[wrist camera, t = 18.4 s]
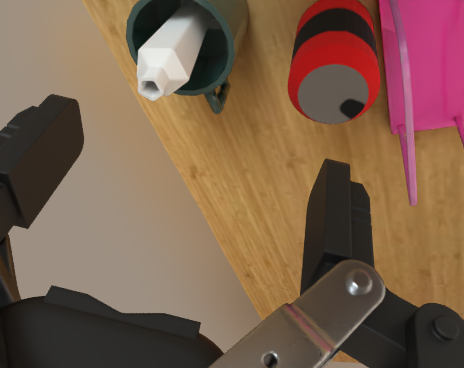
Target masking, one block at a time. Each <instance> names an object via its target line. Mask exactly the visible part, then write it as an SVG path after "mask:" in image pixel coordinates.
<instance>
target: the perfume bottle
mask: <svg viewBox="0 0 464 368" xmlns="http://www.w3.org/2000/svg"><path fill="white" fill-rule="evenodd" d="M215 20H216V18H215V17H214V16H213V14H212V13H211V12H210V11H209V10H207V9H206V8H204V7H203V6H202V5H200V4H199V3H197V2H196V1H193V0H182V6H181V7H180V8H179V9H178V10H177V11H176V12H175V13H174V14H173V15H172V16H171V17H170V18H169V19H168V20H167V21H166V22H165V23H164V24H163V26H162V27H161V28H160V29H159V30H158V31H157V32H156V33H155V34H154V35H153V36H152V37H151V38H150V39H149V40H148V41H147V42H146V43H145V44H144V45H143V46H142V47H141V48H140V49H139V50H138V64H137V79H138V93H139V94H141V95H142V96H144V97H146V98H147V99H149V100H151V101H155V100H157V99H158V98H159V97H161V96H162V95H164V96H169V95H171V94H172V93H173V92H174V91H176V90H177V89H178V88H180V87H181V86H182V85H184V84H185V83H186V82H188V81H189V78H190V75H191V72H192V70H193V67H194V64H195V61H196V59H197V56H198V53H199V50H200V47H201V45H202V42H203V39H204V36H205V34H206V31H207V28H208V26H209V25H210V24H211V23H212V22H213V21H215Z"/></svg>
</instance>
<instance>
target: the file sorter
mask: <svg viewBox="0 0 464 368" xmlns="http://www.w3.org/2000/svg"><path fill="white" fill-rule="evenodd" d="M378 3H379V13H380V24H381V34H382V45H383V56H384V66H385V77H386V88H387V99H388V110H389V121H390V128H391V132H392V134H399V137H400V143H401V149H402V155H403V162H404V168H405V175H406V182H407V189H408V196H409V202H410V206H416V205H417V185H416V164H415V144H414V132H415V131H422V130H429V129H436V128H443V127H450V126H457V128H458V132H459V135H460V138H461V140H462V144H463V147H464V126H463V125H464V0H378ZM405 133H406V138H405ZM406 142H407V143H406Z"/></svg>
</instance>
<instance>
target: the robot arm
mask: <svg viewBox="0 0 464 368" xmlns="http://www.w3.org/2000/svg"><path fill="white" fill-rule="evenodd" d="M83 144H84V134H83V128H82V122H81V115H80V109H79V105H78V102H77V100H75V99H71V98H67V97H63V96H59V95H54V94H51V95H49V96H48V97H47V98H46V99H45V100H44V101H43V102H42V104H40V105H39V107H35V106H32V107H30V108H28V109H26V110H24V111H22V112H20V113H18V114H17V115H16V116H15V117H14V118H13V119H12V120H11V121H10V122H9V123H8V124H7V127H4V128H3V129H2V130H1V131H0V368H324V367H325V366H326V365H327V364H328V363H329V362H330V361H331V360H332V359H333V358H334V357H335V355H336V354H337V353H338V352H339V351H340V350H341V351H343V352H344V353H346V354H348V355H349V356H351V357H352V358H354V359H356V360H357V361H359V362H361V363H362V364H364V365H366V366H367V367H369V368H464V320H463V319H462V318H461V317H460V316H459V315H458V314H457V313H456V312H455V311H453V310H452V309H450V308H448V307H446V306H444V305H441V304H437V303H427V304H424V305H422V306H421V307H420V308H418V307H416V306H415V305H413V304H411V303H409V302H407V301H405V300H404V299H402V298H400V297H398V296H397V295H395V294H393V293H392V292H391V291H389V290H388V289H387V288H386V287H385V285H384V282H383V279H382V278H381V276H380V275H379V273H378V272H377V271H376V270H375V267H374V256H373V241H372V226H371V214H370V197H369V196H368V194H367V192H366V190H365V188H364V186H363V185H362V184H360V183H356V182H352V181H350V165H349V164H347V163H343V162H339V161H335V160H330V159H325V160H324V162H323V164H322V167H321V169H320V171H319V174H318V176H317V179H316V181H315V184H314V186H313V188H312V191H311V194H310V197H309V201H308V206H307V215H306V228H305V240H304V253H303V265H302V277H301V290H300V297H299V298H297V299H296V300H295V301H294V302H292V303H291V304H288V303H285V304H283V305H282V306H280V307H279V308H278V309H276V310H275V311H274V312H273V313H272V314H271V315H269V316H268V317H267V318H266V319H265V320H263V321H262V322H261V323H260V324H259V325H258V326H256V327H255V328H254V329H253V330H252V331H250V332H249V333H248V334H247V335H246V336H245V337H243V338H242V339H241V340H240V341H239V342H238V343H236V344H235V345H234V346H233V347H232V348H230V349H229V350H228V351H227V352H226V353H223V352H222V351H221V349H220V348H219V347H218V346H217V345H216V344H215V343H213V342H212V341H211V340H209V339H208V338H207V337H205V336H204V335H202V334H200V333H199V329H200V324H201V323H200V322H197V321H193V320H189V319H185V318H181V317H177V316H173V315H169V314H165V313H121V312H119V311H117V310H115V309H113V308H111V307H110V306H107V305H106V304H104V303H103V302H101V301H99V300H97V299H95V298H93V297H91V296H90V295H88V294H85V293H81V292H77V291H72V290H68V289H65V288H61V287H57V286H51V288H50V290H49V291H48V293H47V295H46V296H39V297H32V298H27V299H22V300H21V298H20V294H19V291H18V287H17V281H16V276H15V270H14V263H13V257H12V251H11V245H10V238H9V235H8V232H9V231H10V229H11V228H12V227H13V225H14V226H19V227H22V228H26V229H28V228H29V227H30V225H31V224H32V222H33V221H34V220H35V218H36V217H37V215H38V214H39V212H40V211H41V210H42V208H43V207H44V205H45V204H46V202H47V201H48V200H49V198H50V196H51V195H52V194H53V192H54V191H55V190H56V188H57V187H58V185H59V184H60V182H61V181H62V179H63V178H64V177H65V175H66V174H67V172H68V171H69V170H70V168H71V167H72V165H73V164H74V162H75V161H76V160H77V158H78V157H79V155H80V153H81V151H82V148H83Z"/></svg>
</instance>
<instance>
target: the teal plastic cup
mask: <svg viewBox="0 0 464 368" xmlns="http://www.w3.org/2000/svg"><path fill="white" fill-rule="evenodd" d="M193 1H196V2H197V3H199V4H200V5H202V6H203V7H204V8H206V9H207V10H209V11H210V12H211V13H212V14H213V16H214V17H215V18H216V20H215V21H213V22H212V23H211V24H210V25H209V26H208V28H207V31H206V34H205V36H204V39H203V42H202V45H201V47H200V50H199V53H198V56H197V59H196V61H195V64H194V67H193V70H192V72H191V75H190V78H189V81H188V82H186V83H185V84H184V85H182V86H181V87H180V88H178V89H177V90H176V91H174V92H173V93H175V94H179V95H190V96H196V95H200V94H204V95H205V97H206V99H207V102H208V104H209V106H210V108H211V110H212V112H213V113H215V114H219V113H221V112H222V110H223V107H224V104H225V102H226V99H227V96H228V93H229V91H230V87H231V86H230V83H229V81H228V78H227V76H228V75H229V74H230V72H231V70H232V67H233V65H234V62H235V60H236V57H237V54H238V52H239V49H240V46H241V44H242V41H243V39H244V35H245V32H246V29H247V25H248V5H247V1H246V0H193ZM181 6H182V0H139V1H138V2H137V3H136V4H135V5H134V7H133V9H132V11H131V13H130V15H129V18H128V20H127V30H126V39H127V43H128V47H129V51H130V54H131V56H132V58H133V60H134V61H135V63H136V65H137V64H138V50H139V49H140V48H141V47H142V46H143V45H144V44H145V43H146V42H147V41H148V40H149V39H150V38H151V37H152V36H153V35H154V34H155V33H156V32H157V31H158V30H159V29H160V28H161V27H162V26H163V24H164V23H165V22H166V21H167V20H168V19H169V18H170V17H171V16H172V15H173V14H174V13H175V12H176V11H177V10H178V9H179V8H180V7H181ZM218 86H219V89H218V92H217V94H216V91H215V88H217V87H218Z"/></svg>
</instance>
